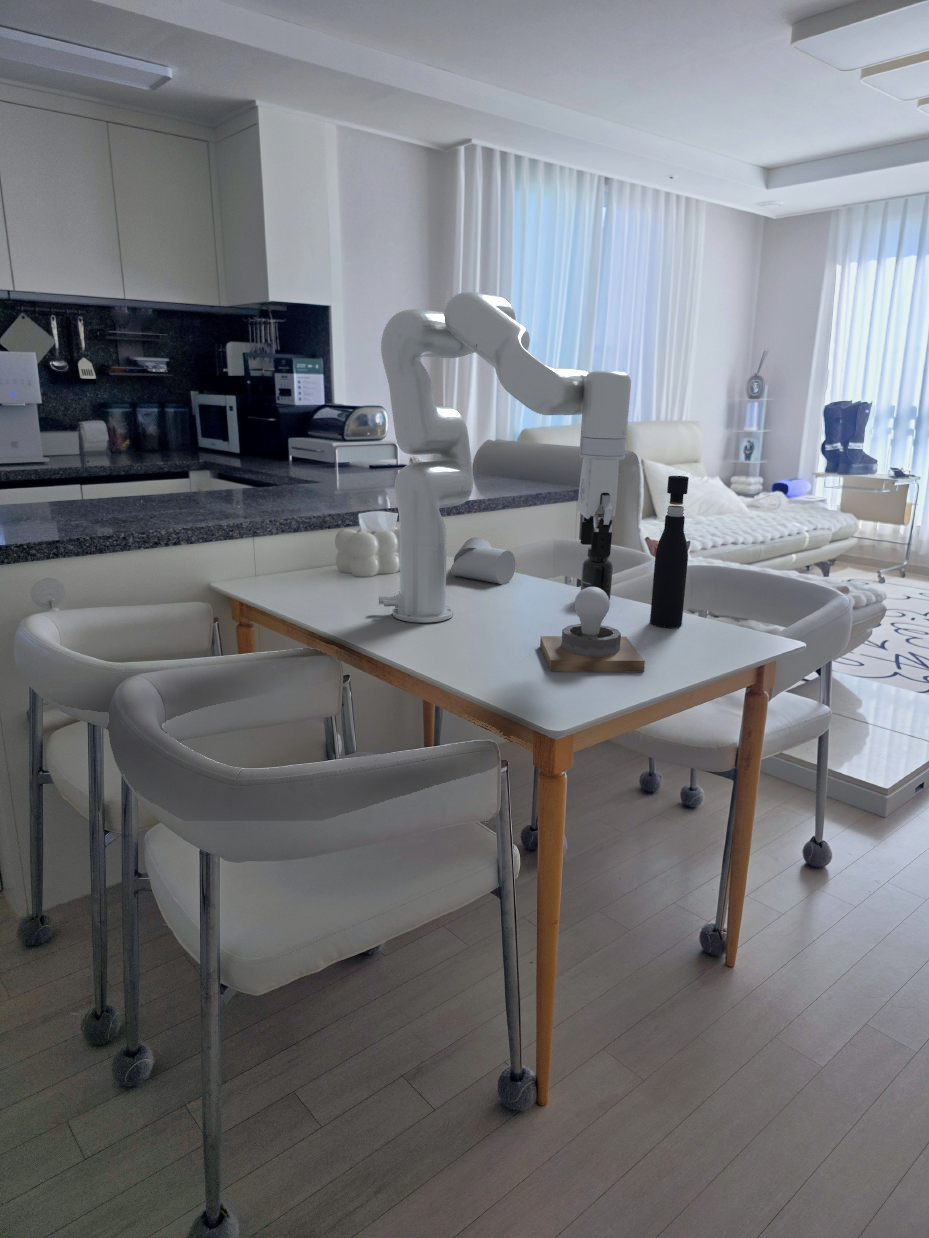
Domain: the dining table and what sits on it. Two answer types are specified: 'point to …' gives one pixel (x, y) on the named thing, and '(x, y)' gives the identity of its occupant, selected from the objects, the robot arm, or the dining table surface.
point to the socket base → (591, 651)
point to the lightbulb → (591, 610)
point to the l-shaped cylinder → (483, 562)
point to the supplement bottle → (597, 573)
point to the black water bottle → (671, 561)
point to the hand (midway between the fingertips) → (594, 550)
